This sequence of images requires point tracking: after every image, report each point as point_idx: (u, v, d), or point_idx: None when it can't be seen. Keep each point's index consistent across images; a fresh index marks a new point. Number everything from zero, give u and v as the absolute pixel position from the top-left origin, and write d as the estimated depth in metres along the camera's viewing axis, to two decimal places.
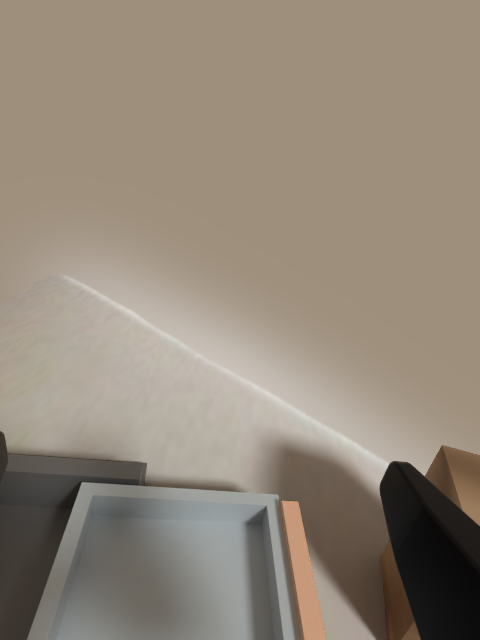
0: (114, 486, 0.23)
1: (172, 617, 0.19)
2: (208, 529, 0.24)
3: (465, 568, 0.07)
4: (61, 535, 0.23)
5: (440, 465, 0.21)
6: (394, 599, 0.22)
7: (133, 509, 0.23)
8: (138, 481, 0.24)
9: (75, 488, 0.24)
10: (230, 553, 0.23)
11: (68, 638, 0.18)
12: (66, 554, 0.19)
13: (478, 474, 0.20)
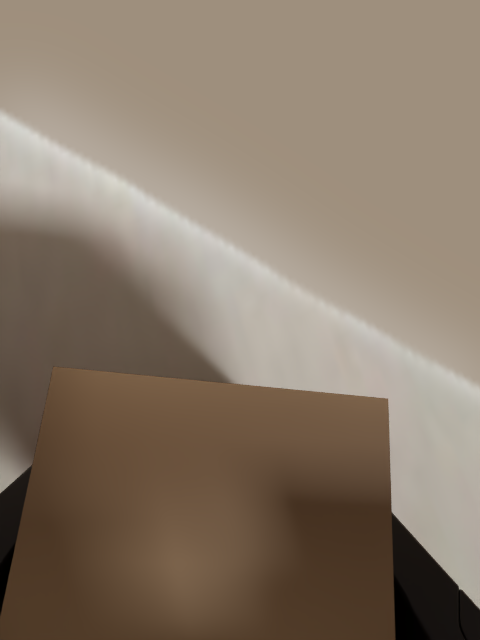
0: None
1: None
2: None
3: None
4: None
5: None
6: None
7: None
8: None
9: None
10: None
11: None
12: None
13: (131, 474, 0.06)
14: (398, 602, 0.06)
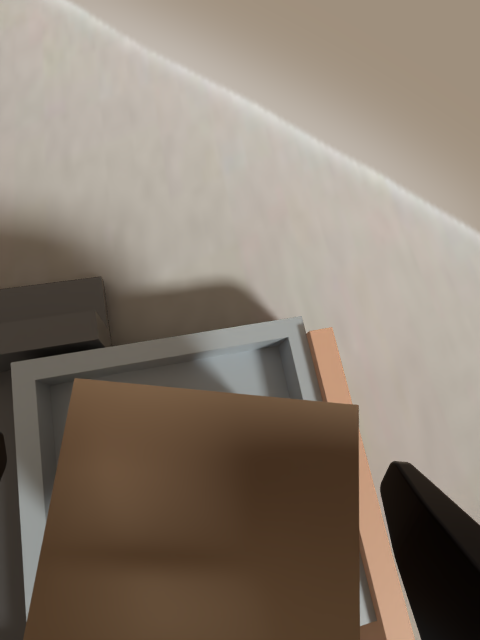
0: (63, 358, 0.15)
1: None
2: (211, 368, 0.18)
3: (466, 568, 0.07)
4: None
5: None
6: None
7: (103, 373, 0.16)
8: (97, 340, 0.16)
9: (7, 360, 0.16)
10: (245, 393, 0.18)
11: None
12: (31, 475, 0.14)
13: (140, 469, 0.07)
14: None
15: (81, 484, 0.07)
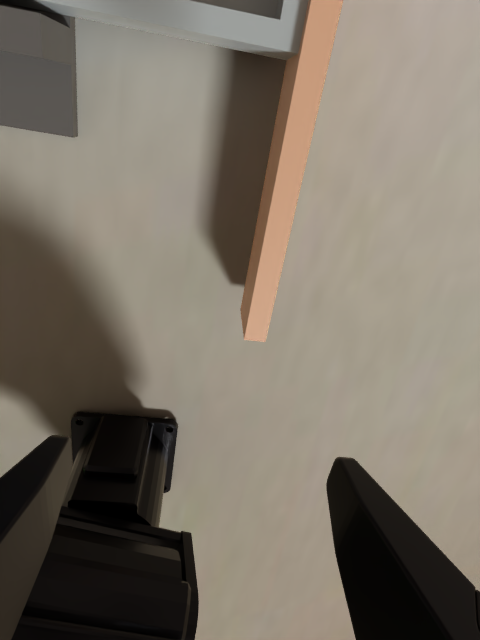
0: None
1: None
2: None
3: (392, 565, 0.07)
4: None
5: None
6: None
7: None
8: None
9: None
10: None
11: None
12: None
13: None
14: (415, 603, 0.06)
15: None
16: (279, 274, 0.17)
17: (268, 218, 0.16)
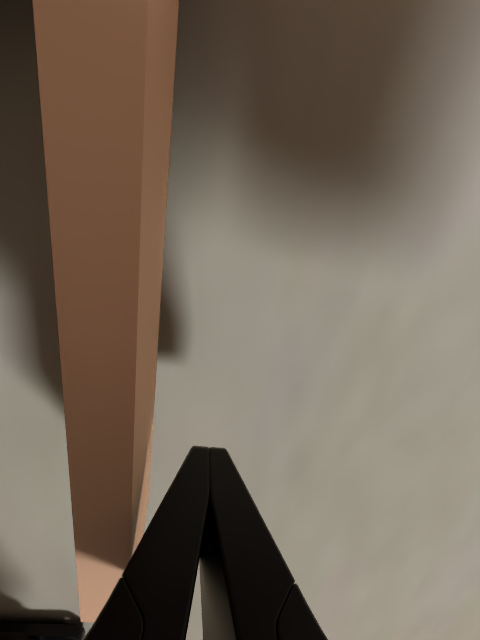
0: None
1: None
2: None
3: (218, 557, 0.07)
4: None
5: None
6: None
7: None
8: None
9: None
10: None
11: None
12: None
13: None
14: (226, 597, 0.06)
15: None
16: (127, 526, 0.07)
17: (68, 427, 0.06)
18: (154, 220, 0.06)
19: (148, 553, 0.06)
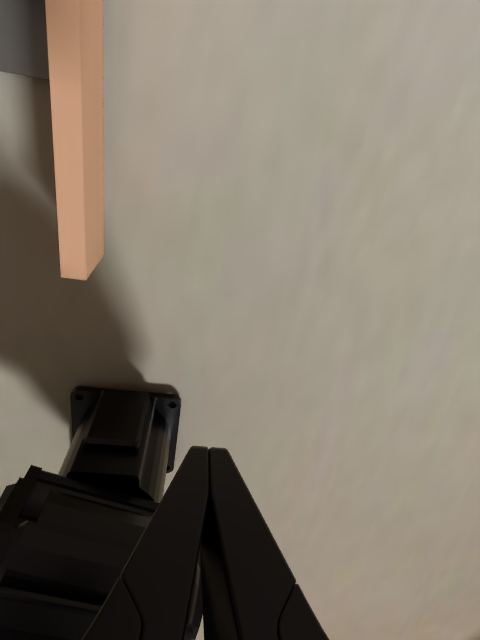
0: None
1: None
2: None
3: (220, 558, 0.07)
4: None
5: None
6: None
7: None
8: None
9: None
10: None
11: None
12: None
13: None
14: (227, 597, 0.06)
15: None
16: (82, 197, 0.15)
17: (53, 127, 0.14)
18: (90, 34, 0.14)
19: (146, 553, 0.06)
